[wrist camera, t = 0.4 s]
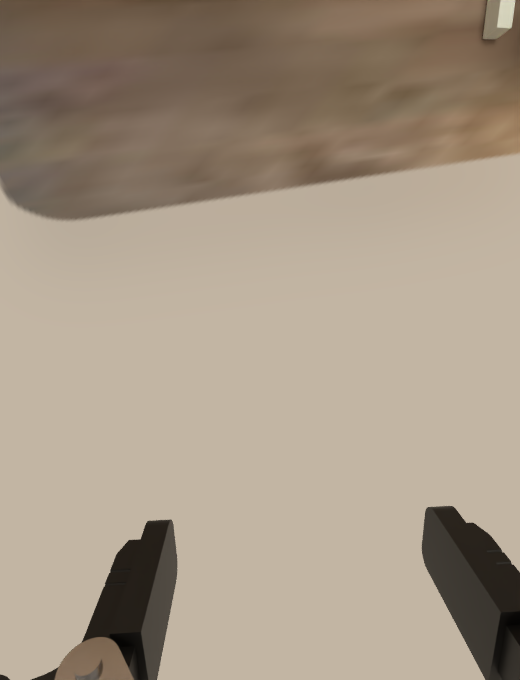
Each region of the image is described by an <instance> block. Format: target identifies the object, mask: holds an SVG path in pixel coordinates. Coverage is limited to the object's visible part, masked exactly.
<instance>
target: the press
mask: <svg viewBox="0 0 520 680" xmlns="http://www.w3.org/2000/svg"><path fill="white" fill-rule="evenodd" d="M514 7H515V0H488V1H487V9H486V16H485V24H484V32H483V39H497V38H499V37H500V36H501V35H503V34H504V33H505V32H507V31H508V30H509V29H511V27H512V21H513V14H514Z"/></svg>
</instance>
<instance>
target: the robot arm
mask: <svg viewBox="0 0 520 680" xmlns="http://www.w3.org/2000/svg"><path fill="white" fill-rule="evenodd" d="M422 554H423V559H424V563H425V566H426V568H427V570H428V572H429V574H430V576H431V578H432V579H433V581H434V583H435V585H436V587H437V589H438V591H439V593H440V594H441V597H442V598H443V600H444V602H445V604H446V606H447V608H448V610H449V612H450V613H451V615H452V617H453V619H454V621H455V623H456V625H457V627H458V629H459V630H460V632H461V634H462V636H463V638H464V640H465V642H466V644H467V646H468V647H469V649H470V651H471V653H472V655H473V657H474V659H475V661H476V662H477V664H478V666H479V668H480V670H481V672H482V674H483V676H484V678H485V680H520V572H519V571H518V570H517V569H516V567H515V566H514V565H512V564H511V561H510V560H509V558H508V557H507V556H506V555H505V553H502V550H501V548H500V547H499V546H498V545H497V543H496V542H495V541H494V540H493V538H492V537H491V536H490V535H489V534H488V533H487V532H485V531H484V530H483V529H481V528H480V527H478V526H477V525H476V524H474V523H466V522H465V521H464V519H463V518H462V517H461V515H460V514H459V513H458V511H457V510H456V509H455V508H454V507H453V506H442V507H428V508H427V509H426V512H425V520H424V530H423V540H422ZM176 577H177V554H176V545H175V536H174V527H173V522H172V520H158V521H157V520H156V521H148V522H147V523H146V525H145V528H144V531H143V534H142V537H141V540H129V541H128V542H127V543H126V544H125V545H124V546H123V548H122V549H121V550H120V551H119V552H118V553H117V555H116V557H115V560H114V562H113V565H112V567H111V572H110V573H109V575H108V578H107V580H106V583H105V587H104V588H103V590H102V593H101V595H100V598H99V601H98V603H97V606H96V608H95V611H94V613H93V616H92V618H91V621H90V624H89V626H88V629H87V632H86V634H85V636H84V638H83V641H82V643H80V644H79V645H77V646H76V647H75V648H74V649H72V650H71V651H70V652H69V653H68V654H67V656H66V657H65V658H64V659H63V661H62V662H61V664H60V666H59V667H58V668H56V669H55V670H53V671H51V672H49V673H47V674H45V675H43V676H40V677H37V678H35V679H32V680H157V676H158V671H159V666H160V661H161V656H162V651H163V645H164V640H165V635H166V630H167V625H168V620H169V615H170V609H171V605H172V599H173V594H174V589H175V584H176ZM0 680H10V679H9V678H8V677H6V676H4V675H0Z"/></svg>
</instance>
